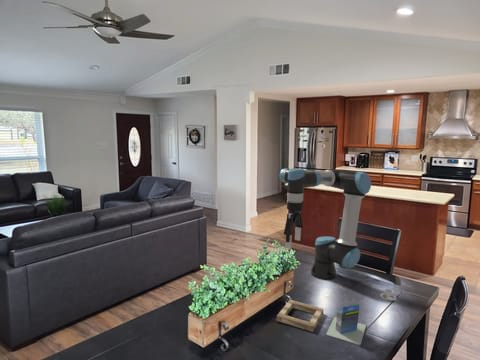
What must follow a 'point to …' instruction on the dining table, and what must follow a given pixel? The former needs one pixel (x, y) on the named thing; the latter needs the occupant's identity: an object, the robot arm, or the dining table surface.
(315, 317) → the oak socket frame
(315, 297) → the dining table surface
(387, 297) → the teacup and saucer
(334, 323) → the sage board
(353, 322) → the label tape box
